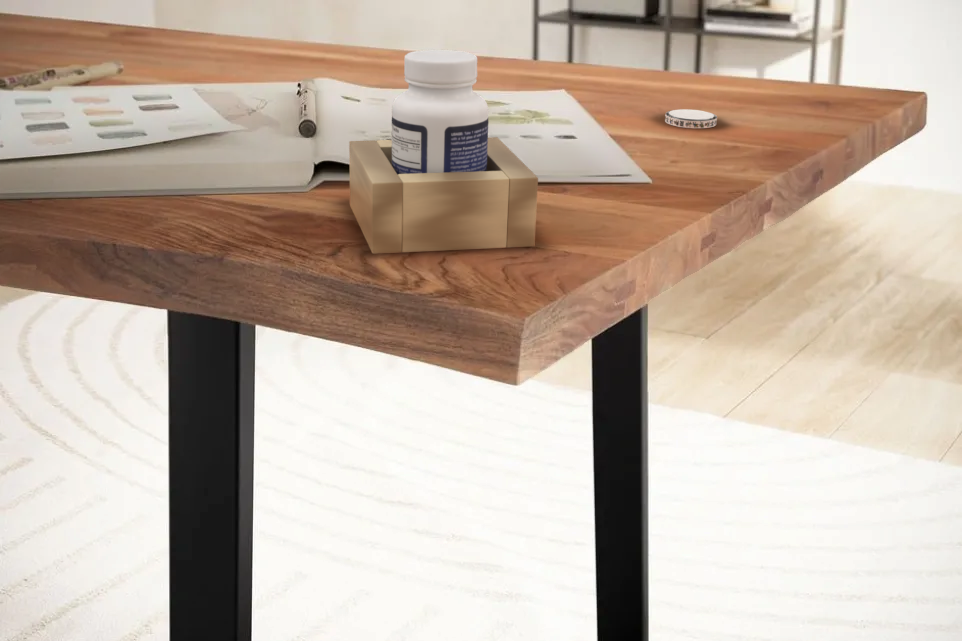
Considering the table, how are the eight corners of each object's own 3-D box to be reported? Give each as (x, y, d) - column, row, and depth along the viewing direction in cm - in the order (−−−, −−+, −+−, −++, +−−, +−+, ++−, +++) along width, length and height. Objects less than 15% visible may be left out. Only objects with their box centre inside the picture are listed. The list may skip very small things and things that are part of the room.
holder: (372, 255, 65) (372, 182, 64) (349, 206, 74) (349, 140, 72) (534, 247, 67) (538, 177, 66) (495, 200, 76) (497, 137, 74)
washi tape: (672, 114, 99) (673, 106, 99) (721, 120, 98) (722, 112, 98) (659, 124, 96) (659, 116, 95) (709, 130, 94) (710, 122, 94)
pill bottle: (486, 213, 73) (491, 48, 69) (484, 242, 68) (490, 66, 64) (395, 210, 73) (396, 44, 69) (386, 239, 68) (387, 62, 64)
